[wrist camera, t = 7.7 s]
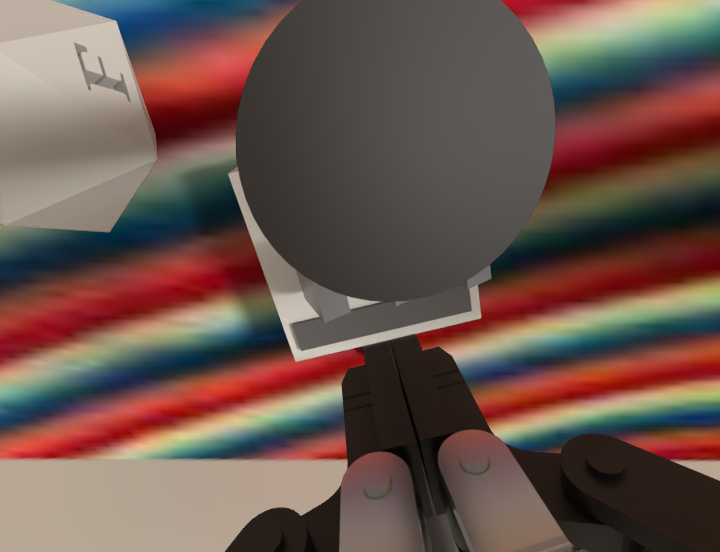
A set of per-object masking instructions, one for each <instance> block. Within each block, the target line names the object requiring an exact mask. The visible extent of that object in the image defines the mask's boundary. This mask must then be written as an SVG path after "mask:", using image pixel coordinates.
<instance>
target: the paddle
mask: <svg viewBox="0 0 720 552" xmlns="http://www.w3.org/2000/svg"><path fill="white" fill-rule="evenodd" d="M295 270H296V269H295ZM296 273H297V276H298V279H299V282H300V285H301V288H302V291H303V294H304V298H305V300H306V301H307V302H308V303H309V304H310V306H311V307H312V308H313V309H314V311H315V312H316V313H317V314H318V315H319V317H320V318H321V319H322V320H323V322H324V323H326V322H329V321H331V320H333V319H335V318H338V317H340V316H342V315H345V314H347V313H349V312H351V310H350V307H349V303H348V299H347V296H345V295H342V294H339V293H336V292H333V291H331V290H329V289H327V288H324V287H322V286H320V285H318V284H316V283H315V282H313V281H311V280H310V279H308V278H306V277H305V276H303V275H302V274H301V273H299V272H298V271H297V270H296Z"/></svg>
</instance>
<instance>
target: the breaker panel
mask: <svg viewBox="0 0 720 552" xmlns="http://www.w3.org/2000/svg"><path fill="white" fill-rule="evenodd" d="M228 175H229V178H230V181H231V183H232V186H233V189H234V192H235V195H236V197H237V200H238V203H239V206H240V208H241V211H242V214H243V217H244V220H245V222H246V225H247V228H248V231H249V233H250V236H251V239H252V242H253V245H254V247H255V250H256V253H257V256H258V259H259V261H260V264H261V267H262V270H263V272H264V275H265V278H266V281H267V284H268V286H269V289H270V292H271V295H272V297H273V300H274V303H275V306H276V309H277V311H278V314H279V317H280V320H281V322H282V325H283V328H284V331H285V334H286V336H287V339H288V342H289V345H290V347H291V350H292V353H293V356H294V359H295V361H296V362H297V361H302V360H306V359H310V358H314V357H319V356H323V355H327V354H331V353H336V352H340V351H344V350H348V349H353V348H357V347H361V346H365V345H370V344H374V343H378V342H382V341H387V340H391V339H395V338H399V337H403V336H407V335H411V334H417V333H421V332H425V331H429V330H434V329H438V328H442V327H446V326H451V325H455V324H459V323H463V322H468V321H472V320H476V319H480V318H481V310H480V301H479V291H478V285H476V286H474V287H472V288H470V289H467V288H465V287H463V286H461V285H457V286H455V287H453V288H450V289H448V290H446V291H443V292H441V293H438V294H435V295H431V296H428V297H424V298H420V299H414V300H409V301H407V302H405V303H402V304H400V305H398V306H395V305H394V304H393V303H391V302H379V301H368V300H362V299H357V298H352V297H348V296H347V299H348V303H349V307H350V310H351V312H349V313H347V314H345V315H342V316H340V317H338V318H335V319H333V320H331V321H329V322H326V323H324V322H323V320H322V319H321V318H320V317H319V315H318V314H317V313H316V312H315V311H314V309H313V308H312V307H311V306H310V304H309V303H308V302H307V301H306V300H305V298H304V294H303V291H302V288H301V285H300V282H299V279H298V276H297V273H296V270H295V269H294V268H293V267H292V266H291V265H289V264H288V263H287V262H286V261H285V260H284V259H283V258H282V257H281V256H280V255H279V254H278V253H277V252H276V251H275V249H274V248H273V247H272V245H271V244H270V243H269V241H268V240H267V239H266V238H265V236H264V235H263V233H262V231H261V230H260V228H259V226H258V225H257V223H256V221H255V219H254V218H253V215H252V213H251V211H250V208H249V206H248V204H247V201H246V199H245V196H244V192H243V189H242V185H241V181H240V178H239V171H238V166H237V167H236V168H235V169H233V170H232V171H231V172H229V173H228Z"/></svg>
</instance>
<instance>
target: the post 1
mask: <svg viewBox="0 0 720 552" xmlns="http://www.w3.org/2000/svg"><path fill="white" fill-rule="evenodd" d="M555 125H556V122H555V108H554V99H553V94H552V89H551V84H550V79H549V76H548V73H547V70H546V67H545V64H544V62H543V59H542V56H541V54H540V52H539V51H538V49H537V47H536V45H535V43H534V41H533V39H532V37H531V35H530V34H529V33H528V31H527V30H526V28H525V27H524V26H523V24H522V23H521V21H520V20H519V19H518V17H517V16H516V15H515V14H514V13H513V12H512V11H511V10H510V9H509V8H508V7H507V6H506V5H505V4H504V3H503V2H502V1H501V0H303V1H301V2H300V3H299V4H298V5H297V6H296V7H295V8H294V9H293V10H292V11H291V12H290V13H289V14H288V15H287V16H286V17H285V18H284V19H282V20H281V22H280V23H279V24H278V25H277V27H276V28H275V29H274V31H273V32H272V33H271V35H270V36H269V37H268V39H267V40H266V41H265V43H264V45H263V47H262V48H261V50H260V52H259V54H258V56H257V57H256V59H255V61H254V63H253V65H252V68H251V70H250V73H249V75H248V78H247V80H246V83H245V85H244V89H243V93H242V97H241V101H240V105H239V109H238V118H237V127H236V158H237V164H238V171H239V178H240V181H241V185H242V189H243V192H244V196H245V199H246V201H247V204H248V206H249V208H250V211H251V213H252V215H253V218H254V219H255V221H256V223H257V225H258V226H259V228H260V230H261V231H262V233H263V235H264V236H265V238H266V239H267V240H268V241H269V243H270V244H271V245H272V247H273V248H274V249H275V251H276V252H277V253H278V254H279V255H280V256H281V257H282V258H283V259H284V260H285V261H286V262H287V263H288V264H289V265H291V266H292V267H293V268H294V269H296V270H297V271H298V272H299V273H301V274H302V275H303V276H305V277H306V278H308V279H310V280H311V281H313V282H315V283H316V284H318V285H320V286H322V287H324V288H327V289H329V290H331V291H333V292H336V293H339V294H342V295H345V296H348V297H352V298H357V299H362V300H368V301H379V302H396V301H408V300H414V299H420V298H424V297H428V296H431V295H435V294H438V293H441V292H443V291H446V290H448V289H450V288H453V287H455V286H457V285H459V284H461V283H463V282H465V281H466V280H468V279H470V278H472V277H473V276H475V275H476V274H478V273H479V272H480V271H482V270H483V269H485V268H486V267H487V266H489V265H490V264H491V263H492V262H493V261H494V260H495V259H496V258H498V257H499V256H500V255H501V254H502V253H503V252H504V251H505V250H506V249H507V248H508V246H509V245H510V244H511V243H512V242H513V241H514V240H515V239H516V237H517V236H518V234H519V233H520V232H521V230H522V229H523V227H524V226H525V225H526V223H527V222H528V220H529V218H530V216H531V215H532V213H533V211H534V209H535V207H536V206H537V204H538V201H539V199H540V196H541V194H542V192H543V189H544V187H545V184H546V181H547V177H548V174H549V170H550V167H551V162H552V156H553V150H554V144H555Z"/></svg>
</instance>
